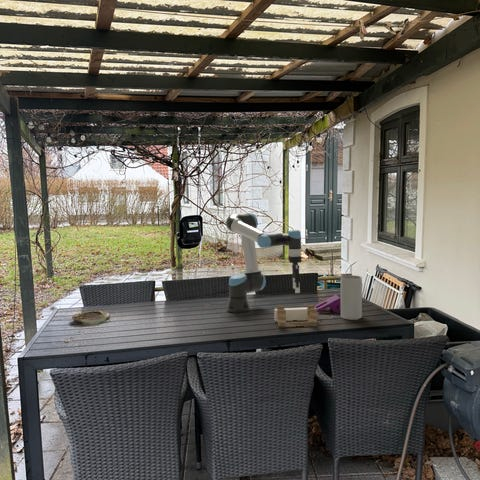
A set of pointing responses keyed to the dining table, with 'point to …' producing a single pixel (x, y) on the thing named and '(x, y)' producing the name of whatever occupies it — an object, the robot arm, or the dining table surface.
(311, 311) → the rack
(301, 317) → the bar
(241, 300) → the robot arm
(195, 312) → the dining table surface
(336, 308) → the mounting bracket
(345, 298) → the cylinder vase
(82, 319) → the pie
